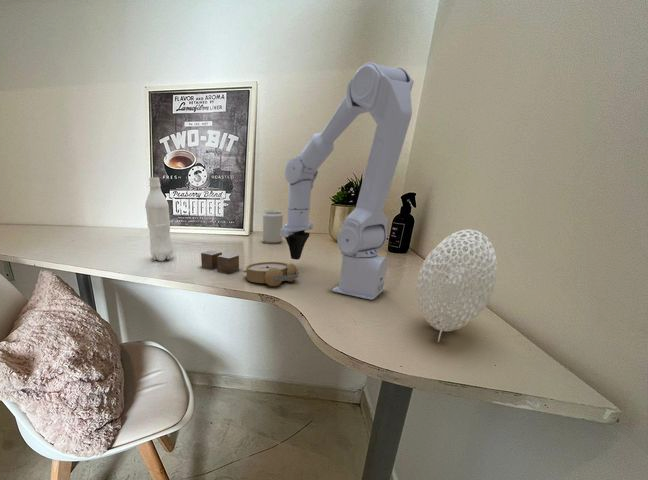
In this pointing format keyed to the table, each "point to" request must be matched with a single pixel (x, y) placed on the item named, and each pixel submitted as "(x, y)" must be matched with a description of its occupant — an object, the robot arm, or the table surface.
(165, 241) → the water bottle
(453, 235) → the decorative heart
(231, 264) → the walnut block near
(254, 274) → the alarm clock
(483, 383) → the table surface
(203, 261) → the walnut block far
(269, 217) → the can
